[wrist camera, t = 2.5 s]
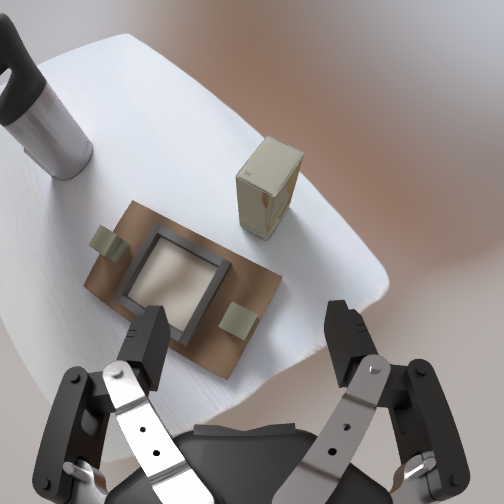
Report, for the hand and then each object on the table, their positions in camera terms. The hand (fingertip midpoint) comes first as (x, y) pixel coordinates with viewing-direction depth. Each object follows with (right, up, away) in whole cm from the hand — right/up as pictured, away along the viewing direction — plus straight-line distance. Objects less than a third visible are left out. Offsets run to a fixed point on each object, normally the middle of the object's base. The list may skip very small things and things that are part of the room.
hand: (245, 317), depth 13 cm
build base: (-9, -1, +21) cm, 23 cm away
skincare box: (+2, +8, +24) cm, 25 cm away
